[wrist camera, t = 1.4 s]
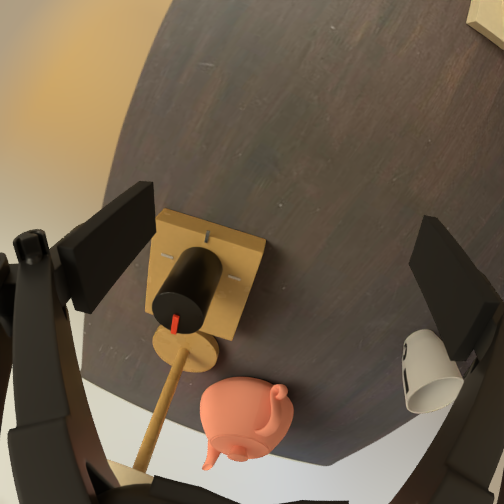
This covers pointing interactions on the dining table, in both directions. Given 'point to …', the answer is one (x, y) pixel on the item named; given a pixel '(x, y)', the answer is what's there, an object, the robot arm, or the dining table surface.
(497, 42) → the switch block
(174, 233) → the tick marked dial plate
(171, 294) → the dimmer knob
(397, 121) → the dining table surface
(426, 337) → the cup
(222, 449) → the teapot
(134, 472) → the lamp
